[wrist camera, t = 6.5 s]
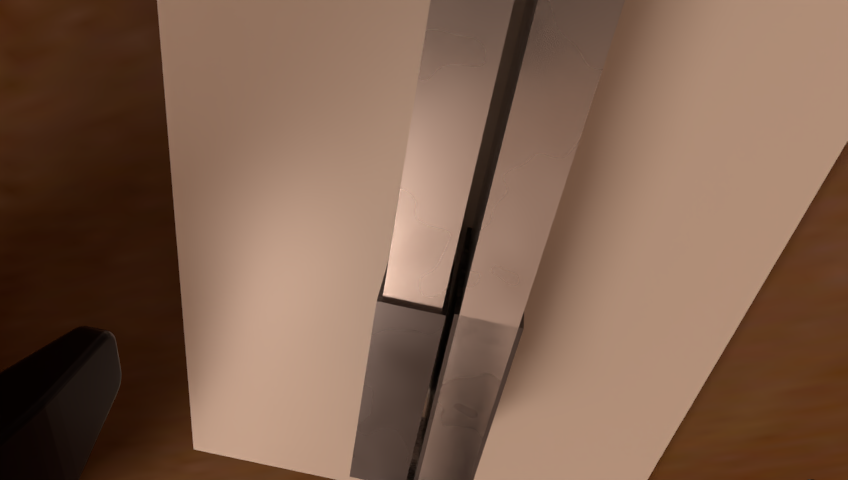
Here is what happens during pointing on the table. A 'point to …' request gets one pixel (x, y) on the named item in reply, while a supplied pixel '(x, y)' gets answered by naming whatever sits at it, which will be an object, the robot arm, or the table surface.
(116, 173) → the table surface
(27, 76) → the table surface
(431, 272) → the tongs moving arm
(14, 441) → the robot arm
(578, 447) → the cutting board
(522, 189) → the tongs fixed arm
